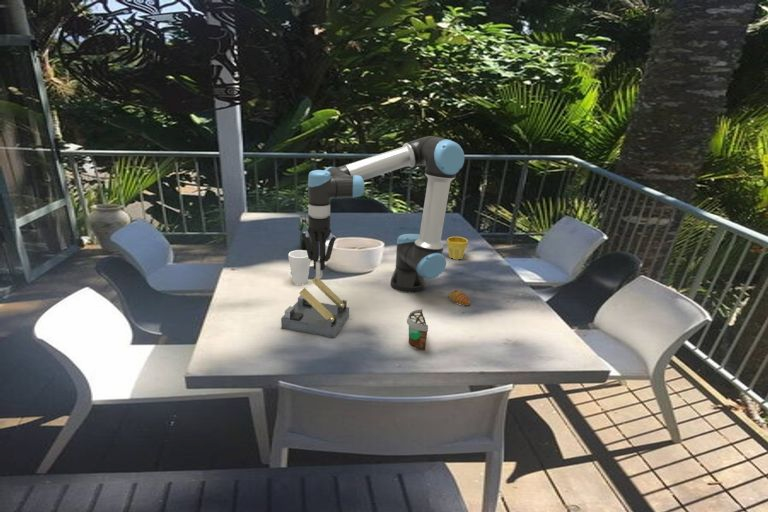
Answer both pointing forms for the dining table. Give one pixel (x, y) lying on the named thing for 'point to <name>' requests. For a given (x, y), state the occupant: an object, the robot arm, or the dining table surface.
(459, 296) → the pastry
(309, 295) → the latch bar front
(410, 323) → the iced coffee cup
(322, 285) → the bar
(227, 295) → the dining table surface
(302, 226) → the ceramic cat
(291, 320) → the base
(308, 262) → the foam cup
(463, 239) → the plant pot
